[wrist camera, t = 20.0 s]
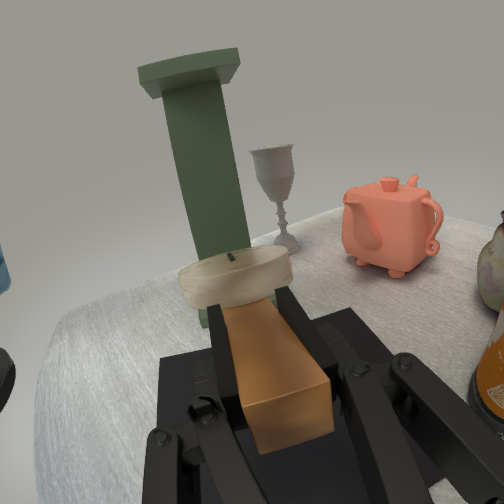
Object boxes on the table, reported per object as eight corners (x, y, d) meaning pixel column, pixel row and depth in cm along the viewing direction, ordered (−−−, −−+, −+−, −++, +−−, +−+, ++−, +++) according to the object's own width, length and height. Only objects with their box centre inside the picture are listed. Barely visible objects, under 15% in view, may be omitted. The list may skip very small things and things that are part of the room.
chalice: (260, 257, 48) (241, 152, 41) (273, 241, 53) (257, 148, 46) (301, 258, 45) (286, 146, 38) (310, 241, 50) (297, 143, 43)
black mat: (168, 561, 7) (165, 561, 7) (161, 361, 27) (159, 358, 27) (470, 455, 10) (474, 452, 10) (349, 310, 30) (350, 306, 30)
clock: (190, 468, 8) (131, 363, 7) (197, 314, 27) (182, 261, 26) (393, 403, 9) (396, 288, 8) (283, 292, 28) (272, 239, 27)
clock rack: (202, 328, 32) (137, 67, 20) (199, 292, 40) (150, 85, 28) (281, 308, 33) (237, 47, 21) (264, 276, 41) (226, 70, 30)
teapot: (346, 291, 34) (342, 194, 29) (339, 240, 48) (334, 171, 43) (449, 283, 30) (459, 190, 24) (416, 236, 44) (416, 168, 39)
